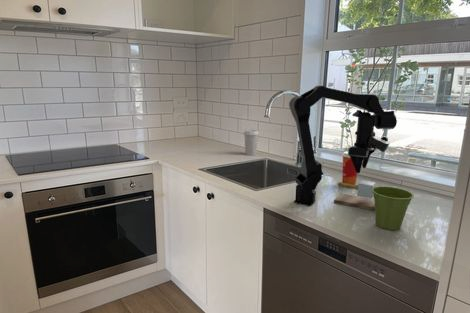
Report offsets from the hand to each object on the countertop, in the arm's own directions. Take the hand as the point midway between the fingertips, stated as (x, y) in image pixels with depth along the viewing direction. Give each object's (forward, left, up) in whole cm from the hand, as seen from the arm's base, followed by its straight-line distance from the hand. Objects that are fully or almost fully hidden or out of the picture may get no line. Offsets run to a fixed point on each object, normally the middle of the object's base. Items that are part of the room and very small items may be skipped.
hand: (361, 170), depth 125 cm
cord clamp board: (+1, -3, -12) cm, 12 cm away
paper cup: (-9, +21, -12) cm, 26 cm away
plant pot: (+13, -19, -12) cm, 26 cm away
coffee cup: (-76, +50, -12) cm, 91 cm away
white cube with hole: (+3, -3, -8) cm, 9 cm away
